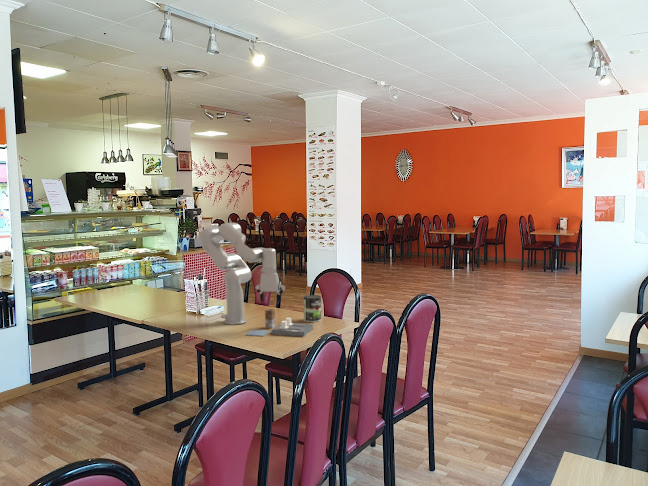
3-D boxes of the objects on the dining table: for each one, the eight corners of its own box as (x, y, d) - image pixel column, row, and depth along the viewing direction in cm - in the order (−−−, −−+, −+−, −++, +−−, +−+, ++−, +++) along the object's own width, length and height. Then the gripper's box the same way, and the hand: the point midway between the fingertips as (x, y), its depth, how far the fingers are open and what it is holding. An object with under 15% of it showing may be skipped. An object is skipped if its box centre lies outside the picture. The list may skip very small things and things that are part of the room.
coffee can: (324, 320, 299) (324, 296, 297) (310, 323, 293) (310, 299, 291) (314, 317, 307) (314, 294, 306) (300, 319, 301) (300, 296, 300)
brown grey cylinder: (265, 328, 282) (265, 310, 281) (268, 326, 286) (267, 308, 285) (272, 328, 281) (271, 310, 280) (274, 326, 285) (274, 309, 284)
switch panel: (271, 334, 269) (271, 329, 269) (282, 326, 285) (282, 322, 285) (304, 336, 265) (304, 331, 264) (312, 328, 280) (312, 324, 280)
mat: (245, 335, 268) (245, 334, 268) (252, 330, 278) (252, 329, 278) (262, 336, 265) (262, 335, 265) (269, 331, 275) (269, 330, 275)
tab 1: (279, 328, 270) (278, 322, 270) (281, 326, 274) (281, 320, 274) (286, 329, 269) (286, 322, 269) (288, 327, 273) (288, 320, 273)
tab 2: (283, 325, 277) (283, 319, 276) (286, 323, 281) (286, 317, 281) (290, 326, 276) (290, 319, 275) (293, 324, 280) (293, 317, 279)
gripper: (252, 271, 279) (253, 302, 281) (281, 271, 274) (283, 303, 276) (257, 269, 286) (258, 299, 288) (286, 270, 282) (287, 300, 283)
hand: (270, 301), depth 282 cm, fingers open, 9 cm apart
